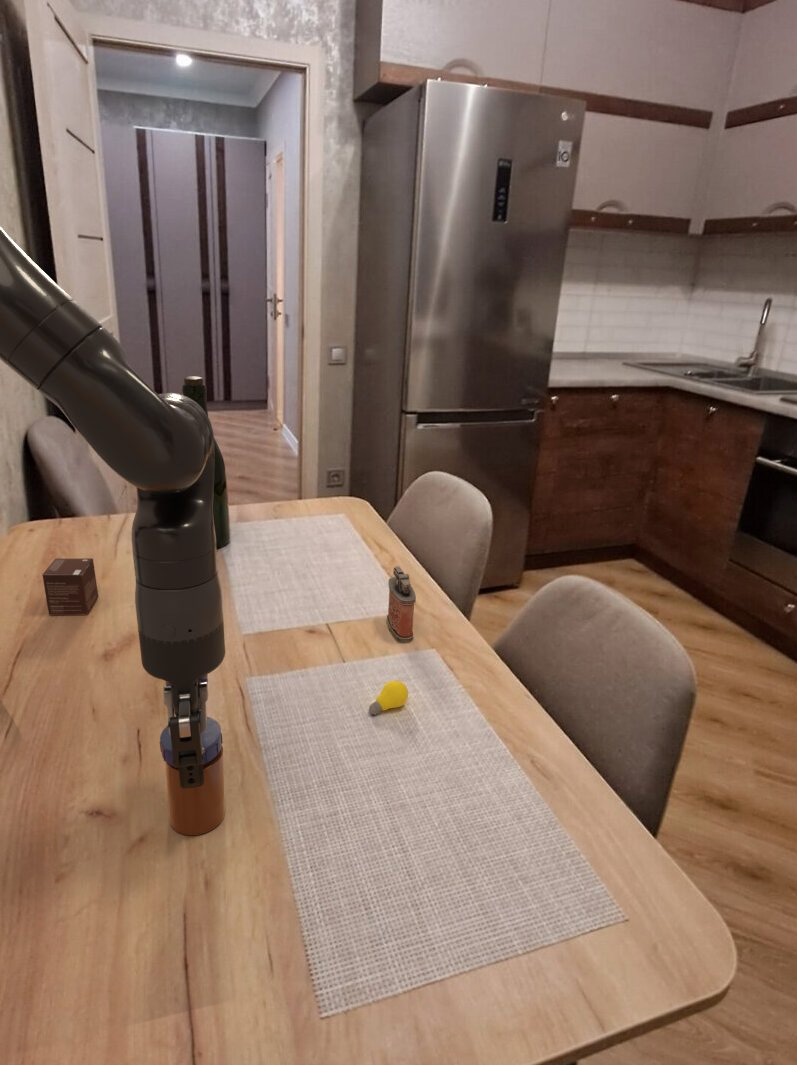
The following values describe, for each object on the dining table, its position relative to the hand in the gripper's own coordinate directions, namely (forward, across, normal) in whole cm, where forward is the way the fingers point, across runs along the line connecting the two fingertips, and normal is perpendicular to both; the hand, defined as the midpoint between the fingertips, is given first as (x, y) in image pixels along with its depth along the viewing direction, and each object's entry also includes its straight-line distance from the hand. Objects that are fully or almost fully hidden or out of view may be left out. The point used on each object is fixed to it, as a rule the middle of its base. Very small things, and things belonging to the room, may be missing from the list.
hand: (193, 762), depth 68 cm
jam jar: (+7, 0, 0) cm, 7 cm away
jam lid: (-3, 0, 0) cm, 3 cm away
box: (+7, +49, +20) cm, 53 cm away
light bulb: (+7, +13, -24) cm, 28 cm away
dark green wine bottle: (+7, +73, -1) cm, 73 cm away
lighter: (+7, +32, -31) cm, 45 cm away
